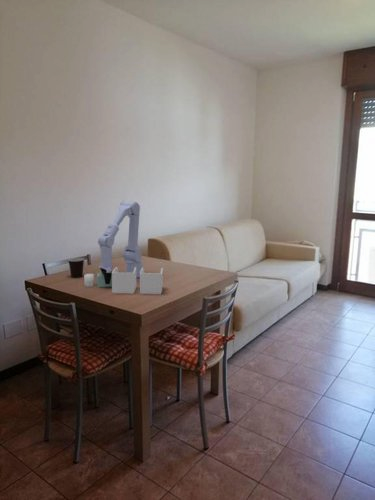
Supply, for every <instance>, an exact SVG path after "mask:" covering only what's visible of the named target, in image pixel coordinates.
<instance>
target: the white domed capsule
mask: <svg viewBox="0 0 375 500" xmlns="http://www.w3.org/2000/svg"><path fill="white" fill-rule="evenodd" d="M83 279H84V281H83V283H84V287H85V288H90V287H91V288H92V287H94V286H95V274H94V273H85V274H83Z"/></svg>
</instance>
